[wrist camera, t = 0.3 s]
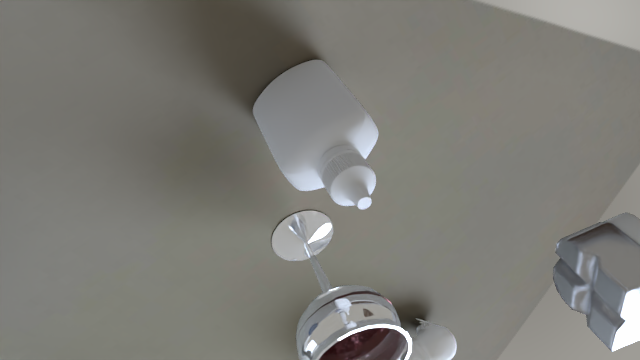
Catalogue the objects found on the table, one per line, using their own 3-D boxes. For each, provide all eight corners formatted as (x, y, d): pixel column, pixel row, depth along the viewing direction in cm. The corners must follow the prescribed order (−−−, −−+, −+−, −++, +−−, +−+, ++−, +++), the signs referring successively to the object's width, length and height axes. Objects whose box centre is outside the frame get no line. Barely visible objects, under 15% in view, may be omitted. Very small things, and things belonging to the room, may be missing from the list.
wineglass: (277, 194, 38) (333, 322, 29) (357, 206, 41) (431, 324, 32) (248, 266, 41) (290, 402, 31) (325, 272, 44) (384, 397, 35)
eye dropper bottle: (335, 115, 36) (416, 224, 26) (253, 131, 34) (309, 252, 25) (333, 54, 33) (422, 151, 24) (245, 68, 32) (303, 178, 22)
